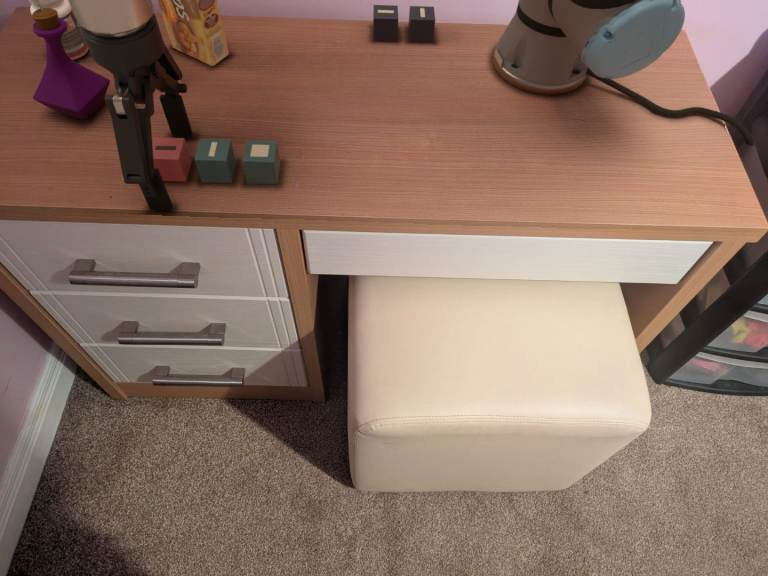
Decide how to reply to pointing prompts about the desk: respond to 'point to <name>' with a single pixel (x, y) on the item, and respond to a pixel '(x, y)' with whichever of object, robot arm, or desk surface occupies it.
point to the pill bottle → (73, 35)
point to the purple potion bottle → (65, 72)
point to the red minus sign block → (171, 158)
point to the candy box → (195, 28)
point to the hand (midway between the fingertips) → (172, 169)
